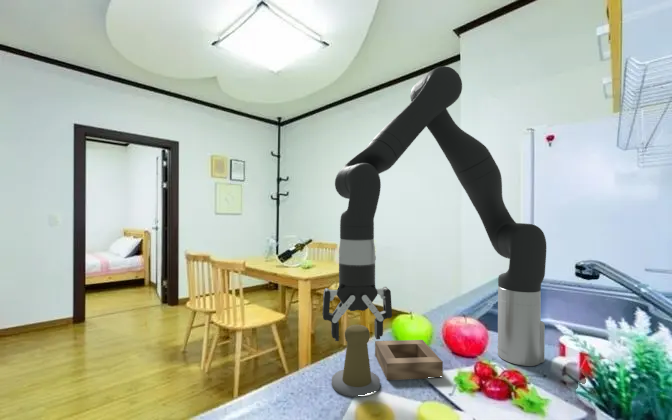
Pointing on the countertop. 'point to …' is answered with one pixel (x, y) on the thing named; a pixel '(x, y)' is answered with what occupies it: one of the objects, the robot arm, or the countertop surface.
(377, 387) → the coaster
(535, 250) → the robot arm
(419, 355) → the pocket block
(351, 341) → the brown pawn
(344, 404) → the countertop surface
